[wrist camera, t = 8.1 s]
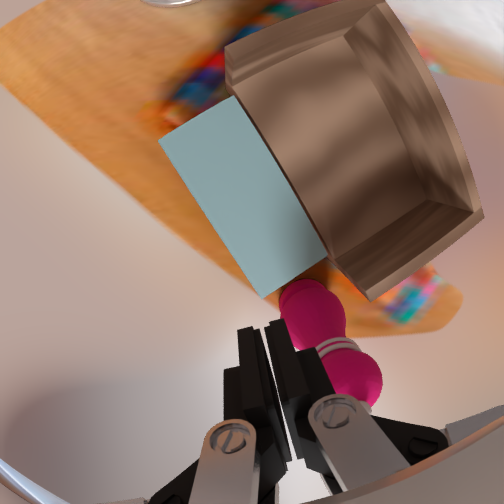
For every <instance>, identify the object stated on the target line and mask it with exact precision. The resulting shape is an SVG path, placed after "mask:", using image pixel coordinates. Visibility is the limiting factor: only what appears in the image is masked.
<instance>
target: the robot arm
mask: <svg viewBox="0 0 504 504" xmlns="http://www.w3.org/2000/svg"><path fill="white" fill-rule="evenodd" d="M141 1H142V2H144V3H146V4H149V5H152V6H157V7H180V6H185V5H189V4H193V3H196V2H199V1H201V0H141ZM269 324H270V326H267V327H264V330H265V334H266V339H267V343H268V348H269V353H270V357H271V362H272V366H273V371H274V375H275V380H276V384H277V388H276V385H275V381H274V378H273V375H272V371H271V367H270V364H269V360H268V357H267V353H266V350H265V346H264V343H263V340H262V336H261V333H260V329H256V330H254V329H253V327H252V326H251V327H247V328H243V329H239V330H237V332H238V349H239V364H240V366H237V367H233V368H229V369H224V421H223V422H221V423H218V424H216V425H215V426H213V427H212V428H211V429H210V430H209V431H208V433H207V434H206V436H205V438H204V442H203V447H202V450H201V455H200V458H199V459H198V460H197V461H195V462H194V463H193V464H192V465H191V466H189V467H188V468H187V469H186V470H184V471H183V472H182V473H181V474H180V475H178V476H177V477H176V478H175V479H173V480H172V481H171V482H170V483H168V484H167V485H166V486H164V487H163V488H162V489H160V490H159V491H158V492H157V493H155V494H154V495H153V496H152V497H151V499H148V500H145V499H144V498H137V499H131V500H124V501H117V502H108V503H99V504H279V484H278V481H279V480H280V479H281V478H282V477H283V476H284V475H285V473H286V471H288V469H287V465H286V462H290V461H292V457H291V452H290V448H289V443H288V439H287V434H286V430H285V425H284V421H283V416H282V411H281V406H280V402H279V398H280V401H281V405H282V409H283V412H284V416H285V419H286V423H287V426H288V429H289V432H290V436H291V439H292V443H293V446H294V449H295V452H296V456H297V459H302V458H304V459H305V463H306V467H307V468H309V469H311V470H313V471H316V472H319V473H320V476H321V478H322V480H323V482H324V484H325V486H326V488H327V489H328V492H329V493H330V495H331V496H328V497H325V498H321V499H318V500H314V501H310V502H306V503H302V504H504V405H501V406H497V407H494V408H492V409H489V410H487V411H484V412H481V413H479V414H476V415H474V416H471V417H468V418H465V419H462V420H459V421H456V422H453V423H450V424H447V425H446V426H445V428H444V429H441V430H438V429H434V428H431V427H426V426H420V425H415V424H410V423H405V422H400V421H395V420H390V419H386V418H381V417H377V416H373V415H369V413H368V412H367V411H366V410H365V408H364V407H363V406H362V404H361V403H360V402H359V401H358V400H357V399H356V398H354V397H352V396H350V395H347V394H336V392H335V390H334V388H333V386H332V383H331V381H330V379H329V377H328V374H327V372H326V370H325V368H324V365H323V363H322V361H321V359H320V357H319V354H318V352H317V350H316V348H315V347H311V348H307V349H304V350H300V351H297V352H296V351H295V349H294V346H293V343H292V340H291V337H290V334H289V331H288V328H287V326H286V323H285V320H284V318H282V319H278V320H274V321H271V322H269ZM277 389H278V393H279V397H278V393H277Z"/></svg>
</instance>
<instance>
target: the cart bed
mask: <svg viewBox="0 0 504 504" xmlns="http://www.w3.org/2000/svg"><path fill="white" fill-rule="evenodd" d="M225 84H226V90H227V92H228V93H229V95H230V96H233V95H234V96H235V98H236V99H237V101H238V102H239V104H240V105H241V107H242V109H243V110H244V112H245V113H246V115H247V116H248V118H249V119H250V121H251V123H252V124H253V126H254V127H255V129H256V131H257V132H258V134H259V135H260V137H261V139H262V140H263V142H264V143H265V145H266V147H267V148H268V150H269V152H270V153H271V155H272V157H273V158H274V160H275V162H276V163H277V165H278V167H279V168H280V170H281V172H282V173H283V175H284V177H285V178H286V180H287V182H288V183H289V185H290V187H291V189H292V190H293V192H294V194H295V196H296V197H297V199H298V201H299V203H300V204H301V206H302V208H303V210H304V211H305V213H306V215H307V217H308V219H309V220H310V222H311V224H312V226H313V228H314V230H315V231H316V233H317V235H318V237H319V239H320V241H321V242H322V244H323V246H324V248H325V250H326V252H327V254H328V255H327V256H326V257H327V258H328V259H329V260H330V261H331V262H332V263H333V264H334V265H335V266H336V267H337V268H338V269H339V270H340V271H341V272H342V273H343V274H344V275H345V276H346V277H347V278H348V279H349V280H350V281H351V282H352V283H353V284H354V285H355V287H356V288H357V289H358V290H359V291H360V292H361V293H362V294H363V295H364V296H365V297H366V298H367V299H368V300H369V301H370V302H372V301H373V300H375V299H376V298H378V297H379V296H381V295H382V294H384V293H385V292H387V291H388V290H390V289H391V288H393V287H394V286H396V285H397V284H399V283H400V282H402V281H403V280H404V279H406V278H407V277H409V276H410V275H411V274H413V273H414V272H416V271H417V270H418V269H420V268H421V267H423V266H424V265H425V264H427V263H428V262H429V261H431V260H432V259H433V258H435V257H436V256H437V255H439V254H440V253H441V252H443V251H444V250H445V249H447V248H448V247H449V246H450V245H452V244H453V243H454V242H455V241H457V240H458V239H459V238H460V237H462V236H463V235H464V234H466V233H467V232H468V231H469V230H470V229H472V228H473V227H474V226H475V225H476V224H478V223H479V222H480V221H481V220H482V219H484V214H483V210H482V206H481V202H480V198H479V195H478V191H477V187H476V184H475V181H474V177H473V174H472V171H471V168H470V165H469V162H468V159H467V156H466V153H465V150H464V148H463V145H462V142H461V139H460V137H459V134H458V132H457V129H456V127H455V124H454V122H453V119H452V117H451V115H450V112H449V110H448V108H447V106H446V103H445V101H444V99H443V97H442V95H441V93H440V91H439V89H438V86H437V85H436V82H435V81H434V79H433V77H432V75H431V73H430V71H429V69H428V67H427V65H426V64H425V62H424V60H423V58H422V56H421V55H420V53H419V51H418V49H417V48H416V46H415V44H414V43H413V41H412V40H411V38H410V36H409V35H408V33H407V32H406V30H405V28H404V27H403V25H402V24H401V22H400V21H399V19H398V18H397V17H396V15H395V14H394V12H393V11H392V9H391V8H390V7H389V5H388V4H387V2H386V1H385V0H341V1H337V2H334V3H331V4H327V5H324V6H321V7H318V8H315V9H312V10H309V11H307V12H304V13H301V14H298V15H296V16H293V17H290V18H288V19H285V20H283V21H280V22H278V23H275V24H273V25H270V26H268V27H266V28H263V29H261V30H259V31H257V32H254V33H252V34H250V35H248V36H246V37H244V38H242V39H239V40H237V41H235V42H233V43H231V44H229V45H227V46H225Z"/></svg>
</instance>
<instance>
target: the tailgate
mask: <svg viewBox="0 0 504 504" xmlns="http://www.w3.org/2000/svg"><path fill="white" fill-rule="evenodd" d="M158 142H159V144H160V145H161V147H162V148H163V150H164V151H165V153H166V154H167V156H168V158H169V159H170V161H171V162H172V164H173V165H174V167H175V169H176V170H177V172H178V173H179V175H180V176H181V178H182V179H183V181H184V183H185V184H186V186H187V187H188V189H189V190H190V192H191V193H192V195H193V196H194V198H195V200H196V201H197V203H198V204H199V206H200V207H201V209H202V210H203V212H204V213H205V215H206V216H207V218H208V219H209V221H210V223H211V224H212V226H213V227H214V229H215V230H216V232H217V233H218V235H219V236H220V238H221V239H222V241H223V242H224V244H225V245H226V247H227V248H228V250H229V251H230V253H231V254H232V256H233V257H234V259H235V260H236V262H237V263H238V265H239V266H240V268H241V269H242V271H243V272H244V274H245V275H246V277H247V278H248V280H249V281H250V283H251V284H252V286H253V287H254V289H255V290H256V292H257V293H258V295H259V296H260V298H261V299H263V298H264V297H266V296H267V295H269V294H270V293H272V292H274V291H275V290H277V289H278V288H280V287H281V286H283V285H284V284H286V283H287V282H289V281H290V280H292V279H293V278H295V277H296V276H298V275H299V274H301V273H302V272H304V271H305V270H307V269H308V268H310V267H311V266H313V265H314V264H316V263H317V262H319V261H320V260H322V259H323V258H325V257H326V256H327V255H328V254H327V252H326V250H325V248H324V246H323V244H322V242H321V241H320V239H319V237H318V235H317V233H316V231H315V230H314V228H313V226H312V224H311V222H310V220H309V219H308V217H307V215H306V213H305V211H304V210H303V208H302V206H301V204H300V203H299V201H298V199H297V197H296V196H295V194H294V192H293V190H292V189H291V187H290V185H289V183H288V182H287V180H286V178H285V177H284V175H283V173H282V172H281V170H280V168H279V167H278V165H277V163H276V162H275V160H274V158H273V157H272V155H271V153H270V152H269V150H268V148H267V147H266V145H265V143H264V142H263V140H262V139H261V137H260V135H259V134H258V132H257V131H256V129H255V127H254V126H253V124H252V123H251V121H250V119H249V118H248V116H247V115H246V113H245V112H244V110H243V109H242V107H241V105H240V104H239V102H238V101H237V99H236V98H235V96H234V95H233V96H231V97H229V98H227V99H226V100H224V101H222V102H220V103H218V104H217V105H215V106H213V107H211V108H209V109H208V110H206V111H204V112H203V113H201V114H199V115H197V116H196V117H194V118H192V119H191V120H189V121H188V122H186V123H184V124H183V125H181V126H179V127H178V128H176V129H175V130H173V131H172V132H170V133H168V134H167V135H165V136H164V137H162V138H161V139H159V140H158Z"/></svg>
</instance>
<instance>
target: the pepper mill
mask: <svg viewBox="0 0 504 504" xmlns="http://www.w3.org/2000/svg"><path fill="white" fill-rule="evenodd" d="M279 308H280V312H281V316H280V319H282V318H284V320H285V323H286V326H287V328H288V331H289V334H290V337H291V340H292V343H293V346H294V347H296V348H297V349H299V350H304V349H307V348H311V347H315V348H316V350H317V352H318V354H319V357H320V359H321V361H322V363H323V365H324V368H325V370H326V372H327V374H328V377H329V379H330V381H331V383H332V386H333V388H334V390H335V392H336V394H347V395H350V396H352V397H354V398H356V399H357V400H358V401H359V402H360V403H361V404H362V406H363V407H364V408H365V410H366V411H367V412H368V413H369V415H371V412H372V410H371V407H372V406H373V405H374V403H375V402H376V401H377V399H378V398H379V396H380V393H381V390H382V385H383V382H382V374H381V371H380V368H379V366H378V365H377V363H376V362H375V360H374V359H373V358H372V357H370V356H369V355H368V354H366V353H363V352H362V351H361V350H360V348H359V347H358V345H357V344H356V343H355V342H354V341H353V340H351V339H349V338H346V336H345V327H346V318H345V312H344V308H343V306H342V304H341V302H340V300H339V299H338V297H337V296H336V295H335V294H333V293H332V292H330V291H329V290H326V288H325V287H324V286H323V285H322V284H321V283H319V282H318V281H315V280H312V279H302V280H298V281H295V282H293V283H292V284H290V285H289V286H288V287H287V288H286V289H285V290H284V291H283V293H282V295H281V297H280V301H279Z"/></svg>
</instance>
